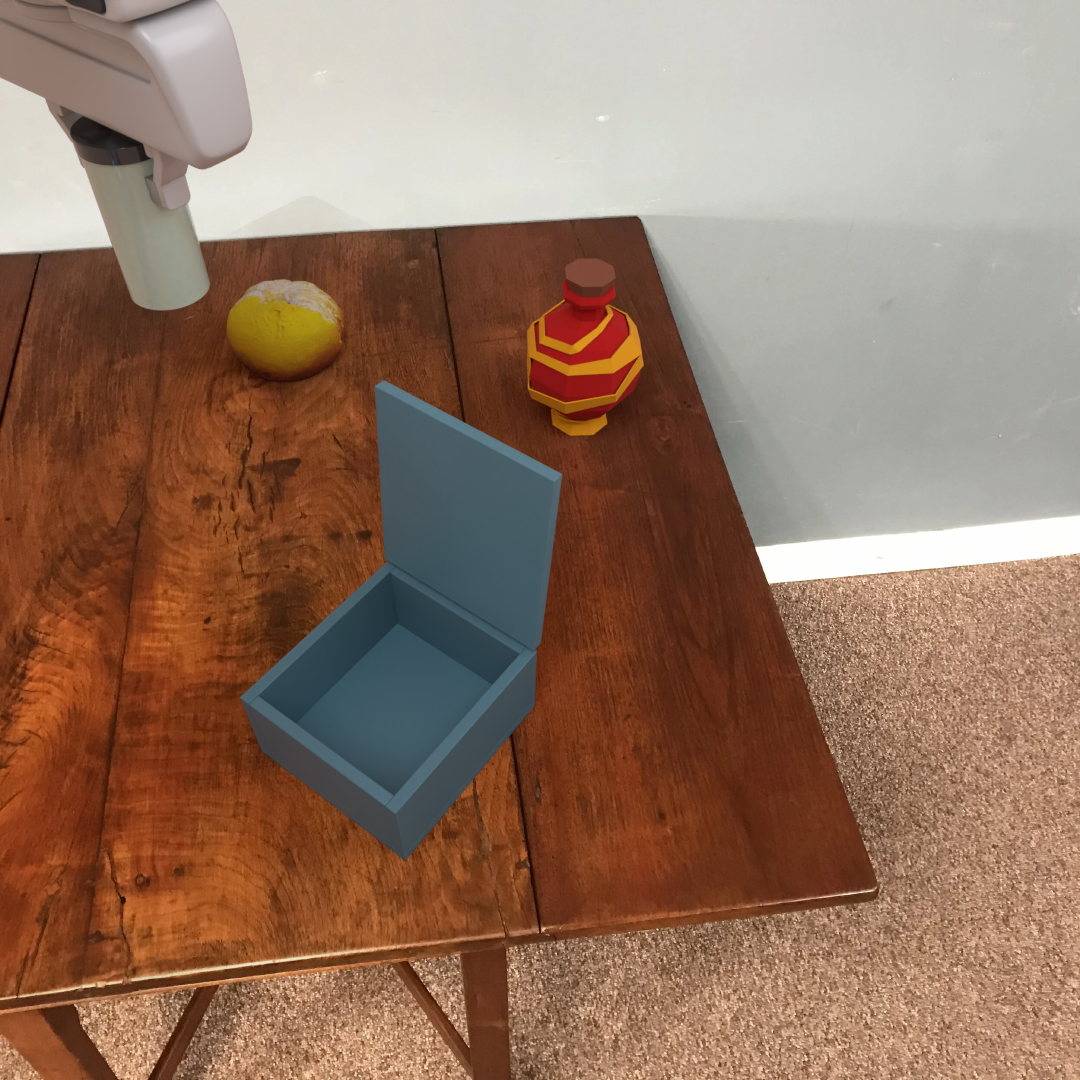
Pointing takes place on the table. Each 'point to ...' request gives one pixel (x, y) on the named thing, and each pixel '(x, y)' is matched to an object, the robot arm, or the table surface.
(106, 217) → the jar
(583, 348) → the potion bottle
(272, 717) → the chest
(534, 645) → the lid
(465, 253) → the table surface
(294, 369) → the fruit
